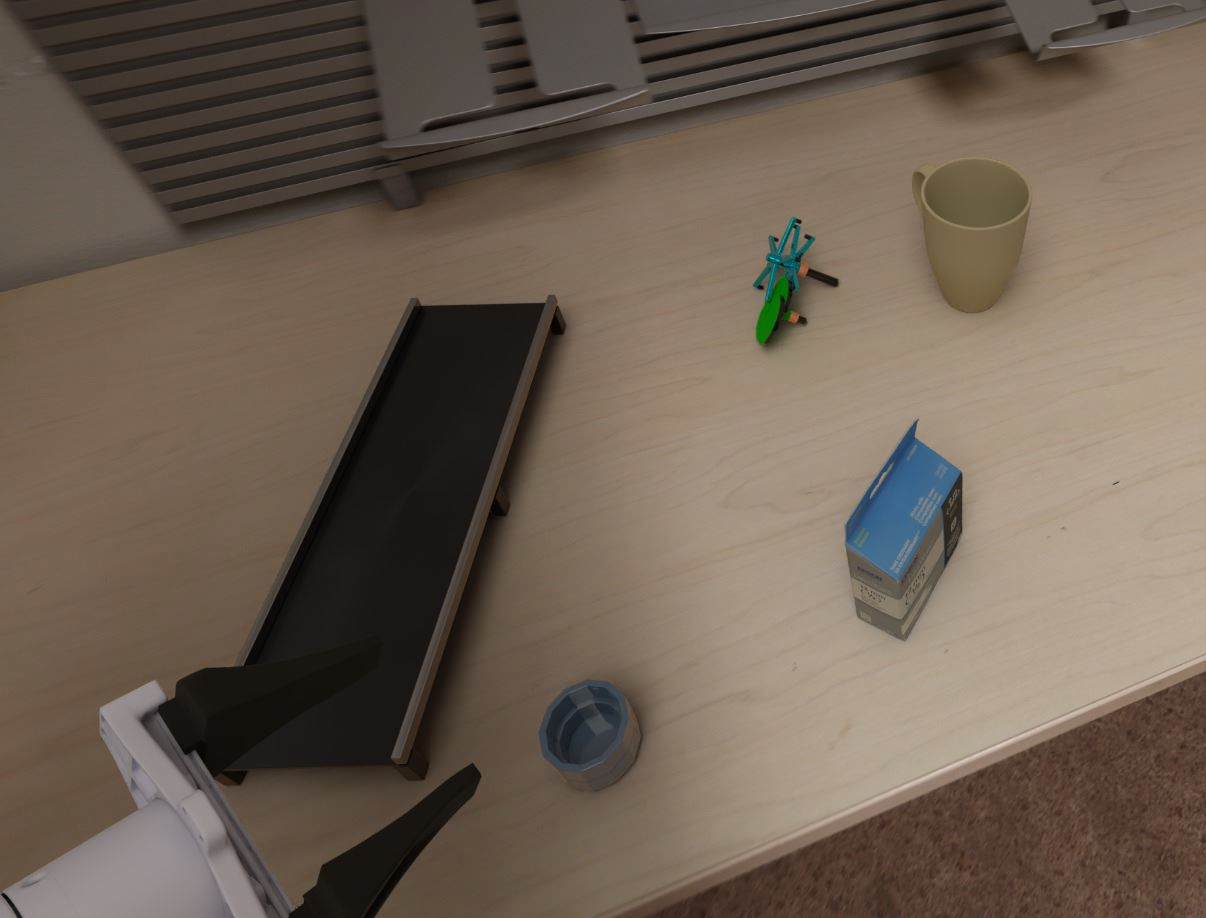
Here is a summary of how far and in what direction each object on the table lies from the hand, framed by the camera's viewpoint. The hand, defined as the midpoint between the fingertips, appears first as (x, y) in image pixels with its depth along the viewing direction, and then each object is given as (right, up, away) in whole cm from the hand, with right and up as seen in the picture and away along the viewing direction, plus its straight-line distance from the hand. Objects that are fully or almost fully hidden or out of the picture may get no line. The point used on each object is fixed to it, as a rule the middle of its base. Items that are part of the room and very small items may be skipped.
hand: (423, 712), depth 42 cm
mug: (+27, +17, +42) cm, 53 cm away
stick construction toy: (+12, +16, +41) cm, 46 cm away
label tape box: (+22, -2, +23) cm, 32 cm away
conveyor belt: (-13, +1, +27) cm, 30 cm away
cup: (+3, -10, +15) cm, 18 cm away
